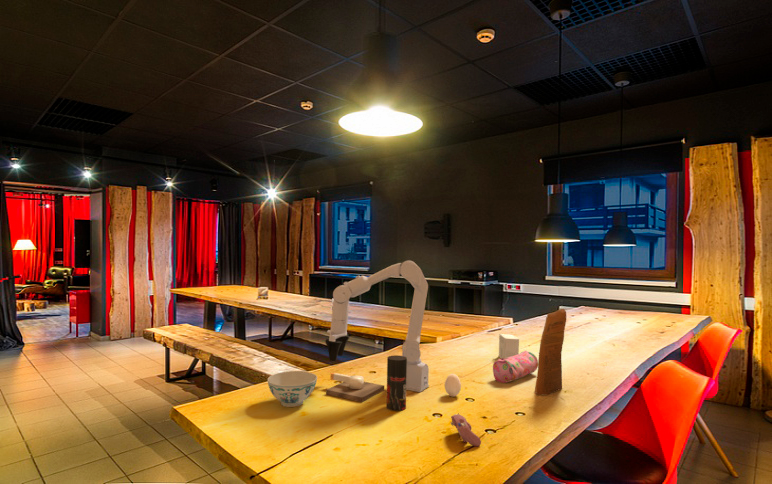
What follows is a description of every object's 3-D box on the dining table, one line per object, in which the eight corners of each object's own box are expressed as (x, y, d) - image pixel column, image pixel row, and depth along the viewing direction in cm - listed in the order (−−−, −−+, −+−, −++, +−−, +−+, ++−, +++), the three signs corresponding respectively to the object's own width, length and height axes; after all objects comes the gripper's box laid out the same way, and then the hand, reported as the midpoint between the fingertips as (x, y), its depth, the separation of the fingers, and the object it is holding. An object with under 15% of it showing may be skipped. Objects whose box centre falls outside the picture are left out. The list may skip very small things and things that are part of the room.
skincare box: (519, 363, 186) (519, 338, 186) (504, 362, 186) (504, 338, 187) (512, 357, 197) (512, 334, 197) (498, 356, 197) (498, 333, 197)
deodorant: (404, 411, 128) (405, 360, 128) (384, 409, 129) (385, 359, 129) (407, 404, 133) (408, 356, 134) (388, 403, 135) (389, 354, 135)
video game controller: (456, 436, 115) (445, 413, 115) (471, 428, 115) (460, 405, 115) (466, 454, 105) (454, 428, 105) (483, 445, 105) (471, 420, 105)
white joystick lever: (366, 385, 145) (366, 376, 145) (358, 390, 141) (358, 380, 141) (336, 379, 151) (336, 371, 151) (327, 383, 147) (327, 374, 147)
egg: (443, 397, 141) (443, 374, 141) (446, 392, 146) (446, 370, 146) (459, 399, 139) (459, 376, 139) (462, 394, 144) (462, 372, 144)
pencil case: (511, 386, 154) (511, 361, 154) (489, 380, 161) (489, 356, 161) (540, 375, 169) (540, 352, 169) (518, 370, 175) (519, 348, 175)
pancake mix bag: (572, 387, 154) (573, 308, 154) (546, 399, 141) (547, 313, 141) (554, 382, 159) (555, 306, 159) (527, 393, 146) (528, 311, 146)
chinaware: (325, 398, 138) (325, 374, 138) (301, 415, 124) (301, 388, 124) (284, 392, 143) (284, 369, 143) (256, 407, 128) (257, 381, 129)
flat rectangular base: (384, 390, 147) (384, 385, 147) (362, 402, 135) (362, 397, 135) (350, 383, 154) (350, 378, 154) (326, 394, 142) (326, 389, 142)
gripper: (334, 315, 160) (331, 351, 160) (322, 321, 146) (318, 361, 146) (353, 317, 159) (349, 354, 158) (342, 323, 144) (338, 364, 144)
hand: (336, 358), depth 152 cm, fingers open, 7 cm apart
